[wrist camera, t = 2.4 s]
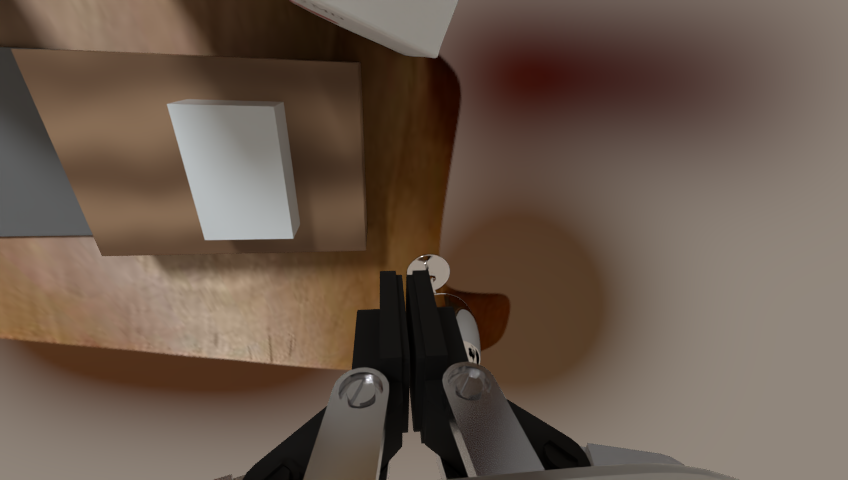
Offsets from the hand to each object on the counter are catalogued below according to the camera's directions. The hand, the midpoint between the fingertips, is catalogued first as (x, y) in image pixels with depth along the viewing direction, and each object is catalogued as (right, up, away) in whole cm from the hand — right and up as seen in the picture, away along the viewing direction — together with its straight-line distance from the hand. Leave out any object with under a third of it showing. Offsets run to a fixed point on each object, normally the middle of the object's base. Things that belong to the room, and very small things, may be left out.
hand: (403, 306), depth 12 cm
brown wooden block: (-14, +9, +16) cm, 23 cm away
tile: (-12, +7, +13) cm, 19 cm away
